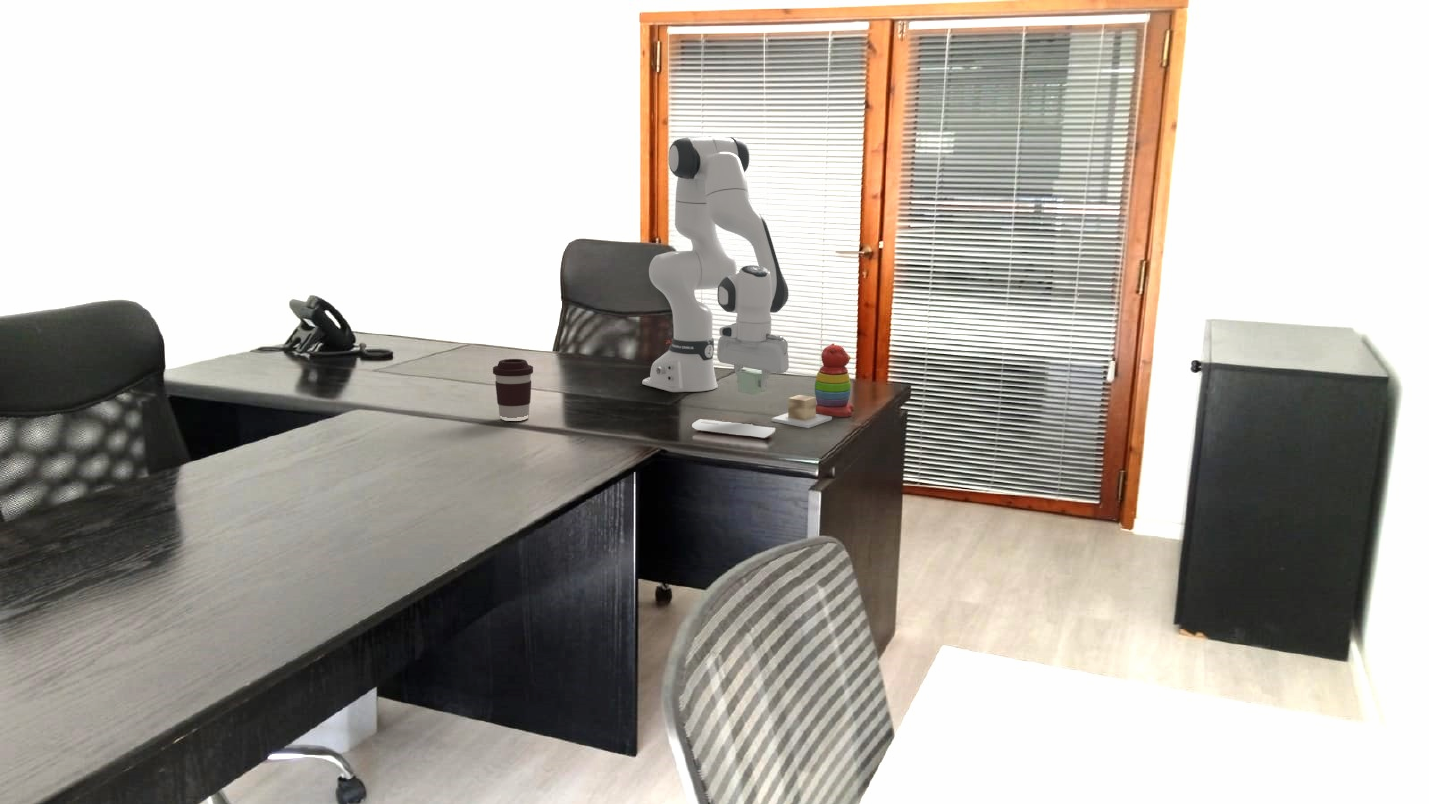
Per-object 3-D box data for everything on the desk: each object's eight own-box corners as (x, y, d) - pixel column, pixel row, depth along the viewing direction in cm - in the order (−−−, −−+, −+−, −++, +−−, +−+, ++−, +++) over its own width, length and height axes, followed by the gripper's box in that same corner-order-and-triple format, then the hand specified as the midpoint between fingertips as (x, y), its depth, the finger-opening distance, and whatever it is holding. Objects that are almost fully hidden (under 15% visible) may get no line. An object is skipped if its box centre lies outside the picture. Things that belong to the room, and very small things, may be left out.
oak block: (788, 417, 279) (788, 398, 278) (799, 413, 283) (799, 394, 282) (804, 420, 276) (805, 400, 275) (815, 416, 280) (816, 397, 279)
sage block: (737, 391, 281) (738, 372, 279) (749, 387, 284) (750, 369, 283) (753, 394, 278) (754, 375, 276) (765, 391, 282) (765, 372, 280)
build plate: (771, 421, 279) (771, 417, 279) (795, 413, 287) (796, 409, 287) (808, 428, 272) (808, 424, 272) (831, 419, 281) (832, 416, 281)
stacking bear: (851, 417, 283) (853, 349, 279) (811, 415, 285) (813, 347, 281) (854, 408, 293) (856, 342, 289) (816, 406, 295) (818, 340, 291)
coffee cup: (542, 417, 281) (540, 359, 278) (517, 425, 273) (516, 365, 270) (511, 413, 286) (509, 356, 283) (486, 420, 277) (484, 361, 274)
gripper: (794, 335, 273) (792, 389, 277) (729, 324, 285) (727, 376, 289) (780, 339, 269) (778, 394, 272) (714, 327, 281) (712, 380, 284)
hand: (751, 384), depth 281 cm, fingers closed on sage block, 5 cm apart
